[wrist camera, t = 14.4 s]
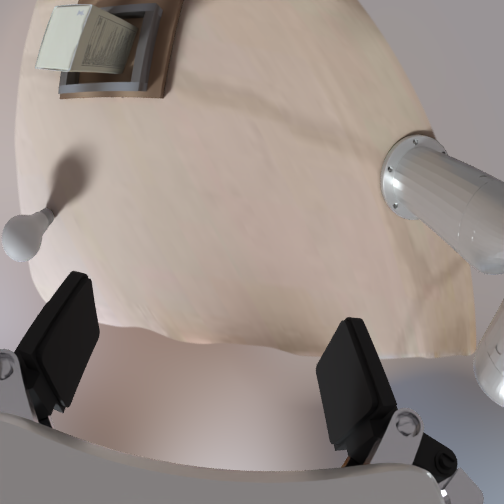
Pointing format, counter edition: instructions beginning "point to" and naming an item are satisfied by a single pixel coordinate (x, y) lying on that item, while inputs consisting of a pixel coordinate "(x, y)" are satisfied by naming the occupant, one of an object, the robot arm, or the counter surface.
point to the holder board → (132, 52)
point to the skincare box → (85, 41)
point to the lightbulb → (25, 234)
